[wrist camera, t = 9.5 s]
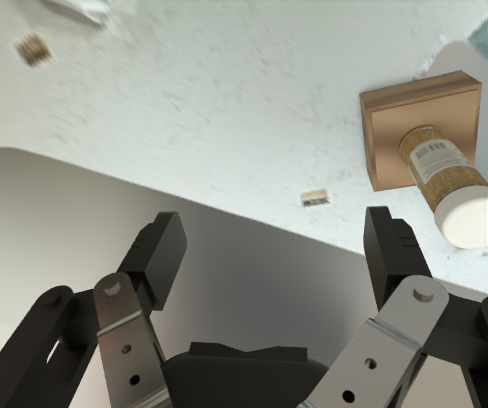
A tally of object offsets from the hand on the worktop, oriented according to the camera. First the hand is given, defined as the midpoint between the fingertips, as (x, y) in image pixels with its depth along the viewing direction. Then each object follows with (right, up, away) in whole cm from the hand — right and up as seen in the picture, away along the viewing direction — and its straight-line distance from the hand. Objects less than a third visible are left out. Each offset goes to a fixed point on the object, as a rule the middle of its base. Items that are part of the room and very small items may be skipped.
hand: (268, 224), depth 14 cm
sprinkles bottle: (+17, +7, +20) cm, 27 cm away
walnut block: (+18, +10, +24) cm, 31 cm away
